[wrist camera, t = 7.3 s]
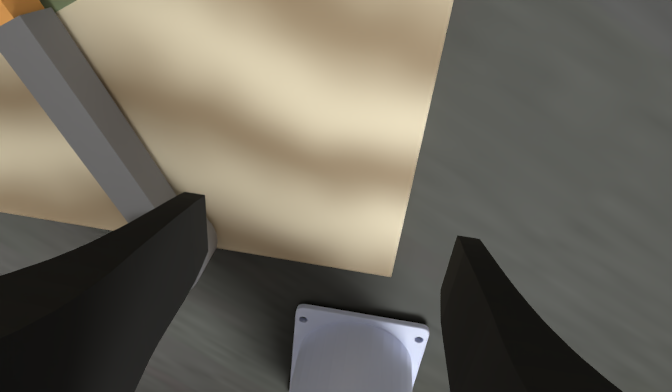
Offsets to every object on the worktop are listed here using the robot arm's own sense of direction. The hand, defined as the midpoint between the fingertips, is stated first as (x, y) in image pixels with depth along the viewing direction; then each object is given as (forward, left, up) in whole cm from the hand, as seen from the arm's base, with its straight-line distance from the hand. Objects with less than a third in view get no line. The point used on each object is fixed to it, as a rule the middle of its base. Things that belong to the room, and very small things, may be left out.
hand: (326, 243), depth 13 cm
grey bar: (-2, +11, -8) cm, 13 cm away
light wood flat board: (-1, +8, -9) cm, 12 cm away
